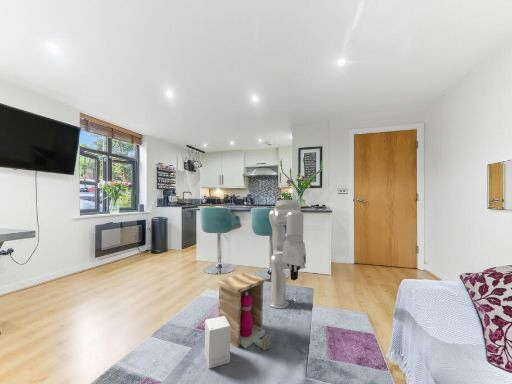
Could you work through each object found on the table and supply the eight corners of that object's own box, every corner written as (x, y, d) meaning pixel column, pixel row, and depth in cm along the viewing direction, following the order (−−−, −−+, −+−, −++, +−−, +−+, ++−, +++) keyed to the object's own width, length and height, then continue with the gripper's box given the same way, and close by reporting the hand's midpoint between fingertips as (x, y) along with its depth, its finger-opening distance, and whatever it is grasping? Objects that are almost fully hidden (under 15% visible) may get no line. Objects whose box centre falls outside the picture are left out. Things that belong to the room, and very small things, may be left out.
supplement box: (230, 363, 92) (231, 326, 92) (208, 369, 88) (209, 330, 88) (224, 349, 100) (225, 315, 100) (204, 354, 96) (204, 319, 97)
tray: (245, 324, 119) (245, 315, 119) (276, 341, 105) (276, 331, 105) (226, 335, 109) (226, 325, 109) (257, 356, 96) (257, 344, 96)
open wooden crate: (244, 320, 124) (245, 272, 124) (263, 330, 114) (264, 279, 115) (216, 335, 109) (217, 281, 110) (236, 349, 100) (237, 290, 101)
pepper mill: (241, 339, 105) (242, 296, 105) (236, 330, 112) (237, 290, 112) (255, 335, 108) (256, 293, 108) (249, 327, 114) (250, 288, 115)
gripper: (276, 237, 104) (275, 277, 104) (305, 242, 94) (304, 286, 94) (285, 235, 110) (285, 273, 109) (313, 239, 100) (313, 281, 99)
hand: (294, 279), depth 101 cm, fingers closed
